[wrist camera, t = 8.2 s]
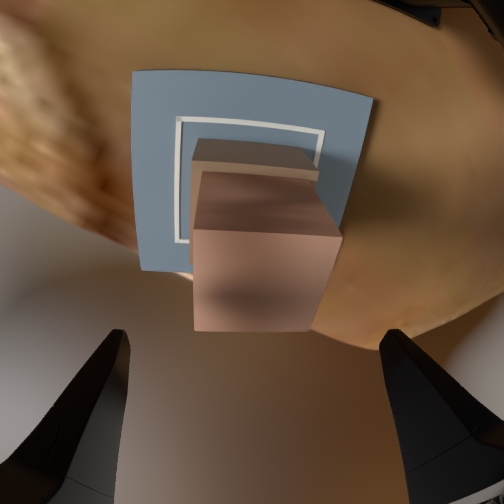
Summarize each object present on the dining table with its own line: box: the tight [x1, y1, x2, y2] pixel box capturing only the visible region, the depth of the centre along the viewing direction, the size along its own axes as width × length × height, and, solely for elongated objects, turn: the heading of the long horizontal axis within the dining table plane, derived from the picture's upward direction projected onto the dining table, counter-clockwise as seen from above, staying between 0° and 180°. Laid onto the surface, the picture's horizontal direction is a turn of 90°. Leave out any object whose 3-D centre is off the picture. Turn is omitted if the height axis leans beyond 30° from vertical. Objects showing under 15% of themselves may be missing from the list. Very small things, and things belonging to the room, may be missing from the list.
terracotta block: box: [193, 171, 343, 332], centre depth 13 cm, size 5×5×5 cm
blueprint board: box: [131, 70, 373, 273], centre depth 17 cm, size 14×14×5 cm
